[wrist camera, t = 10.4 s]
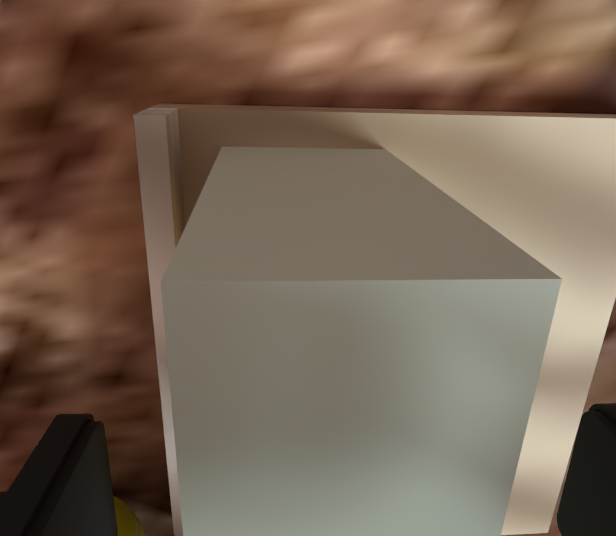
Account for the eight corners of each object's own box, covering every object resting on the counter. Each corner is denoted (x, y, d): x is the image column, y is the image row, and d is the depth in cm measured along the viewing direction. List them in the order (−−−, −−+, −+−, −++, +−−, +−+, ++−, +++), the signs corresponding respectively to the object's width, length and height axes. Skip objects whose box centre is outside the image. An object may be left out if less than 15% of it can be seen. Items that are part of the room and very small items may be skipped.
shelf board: (531, 505, 24) (572, 574, 21) (191, 521, 23) (180, 598, 20) (634, 114, 17) (719, 127, 14) (159, 103, 16) (133, 114, 13)
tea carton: (385, 149, 16) (561, 279, 6) (366, 369, 19) (468, 670, 9) (216, 146, 15) (148, 282, 6) (225, 372, 18) (188, 692, 9)
